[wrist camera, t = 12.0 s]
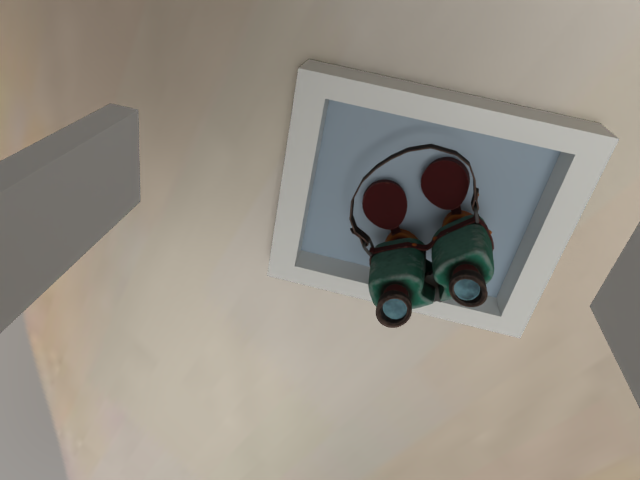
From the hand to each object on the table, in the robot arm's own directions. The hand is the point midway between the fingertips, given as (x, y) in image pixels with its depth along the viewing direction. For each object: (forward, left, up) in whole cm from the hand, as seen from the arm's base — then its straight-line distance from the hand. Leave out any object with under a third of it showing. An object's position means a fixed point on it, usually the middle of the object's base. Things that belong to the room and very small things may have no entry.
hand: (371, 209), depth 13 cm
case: (+9, +4, -23) cm, 25 cm away
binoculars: (+9, +4, -23) cm, 25 cm away
